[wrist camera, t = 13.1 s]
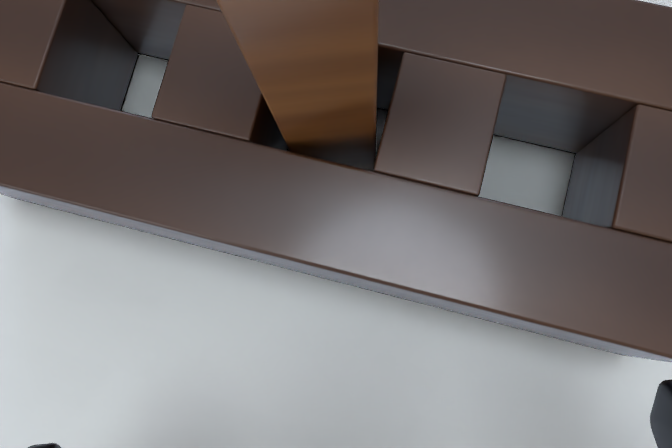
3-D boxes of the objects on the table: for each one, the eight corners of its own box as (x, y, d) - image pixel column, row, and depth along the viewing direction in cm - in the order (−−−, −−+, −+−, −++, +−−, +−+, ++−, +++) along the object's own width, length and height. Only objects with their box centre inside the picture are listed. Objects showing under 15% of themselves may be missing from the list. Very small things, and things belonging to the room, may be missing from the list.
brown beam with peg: (454, 167, 19) (803, -480, 4) (227, 190, 19) (-346, -319, 4) (446, 98, 19) (733, -763, 4) (222, 121, 20) (-321, -593, 4)
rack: (623, 355, 18) (707, 367, 13) (13, 197, 20) (-92, 162, 15) (674, 94, 19) (766, 25, 14) (90, -33, 21) (13, -129, 16)
